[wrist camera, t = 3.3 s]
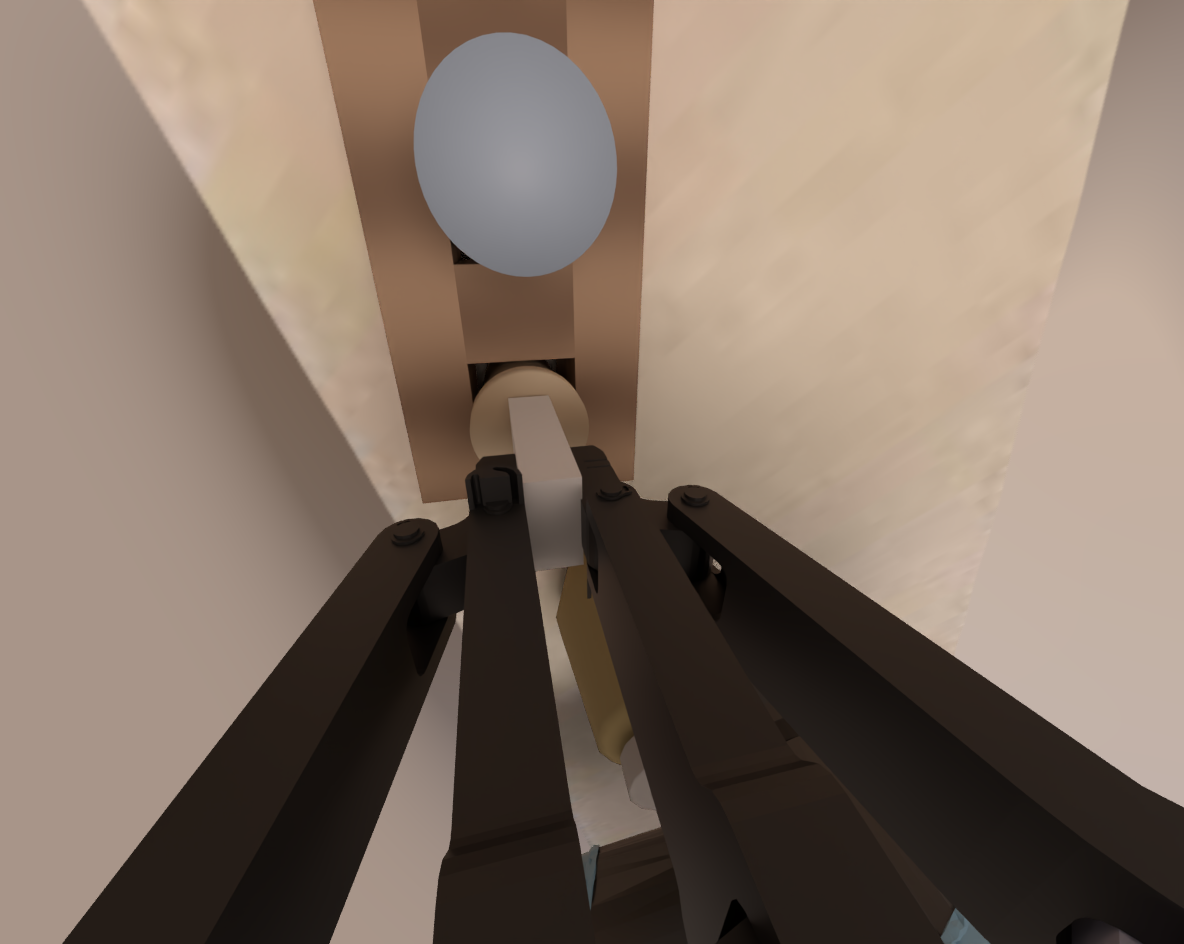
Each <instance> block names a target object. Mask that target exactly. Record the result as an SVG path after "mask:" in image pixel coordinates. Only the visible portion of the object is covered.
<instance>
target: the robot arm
mask: <svg viewBox="0 0 1184 944" xmlns="http://www.w3.org/2000/svg"><path fill="white" fill-rule="evenodd" d="M508 402H509V412H510V422H511V432H512V442H513V452H514V454H505V455H495V456H484V457H482V458H481V459H480V460H479V462H478V463H477V464H476V469H475V470H473V471H472V472H471V473H469V474H468V475H467V476H466V478H465V485H466V491H467V497H468V504H469V510H470V511H469V516H468V517H467V518H466V519H464V520H463V521H461V522H459V523H457V524H455V525H452V526H450V527H446V528H443V529H440V530H439V528H438V526H437V524H436V523H435V522H433V521H431V520H428V519H421V518H416V519H406V520H404V521H399V522H396V523H394V524H392V525H391V526H389V527H387V528H385V529H384V530H383V531H382V532H381V533H380V534H379V535H378V536H377V537H376V538H375V540H374V541H373V542H372V543H371V545H370V546H369V547H368V549H367V550H366V551H365V553H364V554H363V555H362V557H361V558H360V559H359V560H358V562H357V563H356V564H355V566H354V567H353V568H352V570H351V571H350V572H349V573H348V574H347V576H346V577H345V578H344V580H343V581H342V582H341V584H340V585H339V586H338V587H337V589H336V590H335V591H334V593H333V594H332V595H331V597H330V598H329V599H328V601H327V602H326V603H325V604H324V606H323V607H322V608H321V610H320V611H319V612H318V613H317V615H316V616H315V617H314V619H313V620H312V621H311V622H310V624H309V625H308V626H307V628H306V629H305V630H304V631H303V633H302V634H301V635H300V637H299V638H298V639H297V640H296V642H295V643H294V644H293V646H292V647H291V648H290V650H289V651H288V652H287V653H286V655H285V656H284V657H283V659H282V660H281V661H280V663H279V664H278V665H277V666H276V668H275V669H274V670H273V672H272V673H271V674H270V675H269V677H268V678H267V679H266V681H265V682H264V683H263V684H262V686H261V687H260V688H259V690H258V691H257V692H256V694H255V695H254V696H253V697H252V699H251V700H250V701H249V703H248V704H247V705H246V707H245V708H244V709H243V710H242V712H241V713H240V714H239V716H238V717H237V718H236V719H235V721H234V722H233V724H232V725H231V726H230V727H229V728H228V730H227V731H226V732H225V734H224V735H223V737H222V738H221V739H220V740H219V741H218V743H217V744H216V745H215V747H214V748H213V749H212V750H211V752H210V753H209V754H208V756H207V757H206V758H205V760H204V761H203V762H202V763H201V765H200V766H199V767H198V769H197V770H196V771H195V773H194V774H193V775H192V776H191V778H190V779H189V780H188V782H187V783H186V784H185V785H184V787H183V788H182V789H181V791H180V792H179V793H178V795H177V796H176V797H175V798H174V800H173V801H172V802H171V804H170V805H169V806H168V807H167V809H166V810H165V811H164V813H163V814H162V815H161V817H160V818H159V819H158V821H157V822H156V823H155V824H154V826H153V827H152V828H151V830H150V831H149V832H148V833H147V835H146V836H145V837H144V838H143V840H142V841H141V842H140V844H139V845H138V846H137V848H136V849H135V850H134V851H133V853H132V854H131V855H130V857H129V858H128V860H127V861H126V862H125V863H124V864H123V866H122V867H121V868H120V870H119V871H118V872H117V873H116V875H115V876H114V877H113V879H112V880H111V881H110V882H109V884H108V885H107V886H106V888H105V889H104V890H103V892H102V893H101V894H100V895H99V897H98V898H97V899H96V901H95V902H94V903H93V904H92V906H91V907H90V909H89V910H88V911H87V912H86V914H85V915H84V916H83V917H82V919H81V920H80V921H79V923H78V924H77V925H76V926H75V928H74V929H73V930H72V932H71V933H70V934H69V936H68V937H67V938H66V939H65V941H64V942H63V944H329V943H330V940H331V938H332V935H333V933H334V930H335V928H336V925H337V922H338V920H339V917H340V915H341V912H342V910H343V907H344V905H345V902H346V899H347V897H348V894H349V892H350V889H351V887H352V884H353V882H354V879H355V877H356V874H357V872H358V869H359V866H360V864H361V861H362V859H363V856H364V854H365V851H366V849H367V846H368V843H369V841H370V838H371V836H372V833H373V831H374V828H375V826H376V823H377V820H378V818H379V815H380V812H381V810H382V808H383V805H384V803H385V800H386V798H387V795H388V792H389V790H390V787H391V785H392V782H393V780H394V777H395V774H396V772H397V770H398V767H399V764H400V762H401V759H402V757H403V754H404V751H405V749H406V747H407V744H408V741H409V739H410V736H411V734H412V731H413V729H414V726H415V724H416V721H417V718H418V716H419V713H420V711H421V708H422V706H423V703H424V701H425V698H426V696H427V693H428V691H429V687H430V685H431V682H432V680H433V678H434V675H435V673H436V670H437V667H438V665H439V662H440V660H441V657H442V655H443V652H444V650H445V647H446V645H447V642H448V639H449V637H450V634H451V632H452V629H453V627H454V624H455V621H456V613H457V612H460V611H462V610H464V617H463V635H462V654H461V670H460V689H459V706H458V724H457V741H456V742H457V743H456V760H455V777H454V794H453V813H452V830H451V840H450V845H449V850H448V852H447V853H446V855H445V856H444V858H443V860H442V864H441V869H440V873H439V879H438V888H437V897H436V908H435V921H434V935H433V944H1184V807H1182V806H1180V805H1178V804H1176V803H1174V802H1172V801H1170V800H1168V799H1166V798H1164V797H1162V796H1160V795H1158V794H1157V793H1155V792H1152V791H1151V790H1148V789H1147V788H1145V787H1143V786H1141V785H1140V784H1138V783H1137V782H1135V781H1134V780H1132V779H1131V778H1130V777H1128V776H1127V775H1125V774H1124V773H1122V772H1121V771H1119V770H1118V769H1116V768H1115V767H1114V766H1112V765H1110V764H1109V763H1108V762H1106V761H1105V760H1103V759H1102V758H1101V757H1099V756H1098V755H1096V754H1095V753H1093V752H1092V751H1090V750H1089V749H1087V748H1086V747H1085V746H1083V745H1082V744H1080V743H1079V742H1077V741H1076V740H1074V739H1073V738H1072V737H1070V736H1069V735H1067V734H1066V733H1064V732H1063V731H1061V730H1060V729H1058V728H1057V727H1056V726H1054V725H1053V724H1051V723H1050V722H1048V721H1047V720H1045V719H1044V718H1042V717H1041V716H1040V715H1038V714H1037V713H1035V712H1034V711H1032V710H1031V709H1029V708H1028V707H1027V706H1025V705H1024V704H1022V703H1021V702H1019V701H1018V700H1016V699H1015V698H1014V697H1012V696H1010V695H1009V694H1008V693H1006V692H1005V691H1003V690H1002V689H1000V688H999V687H998V686H996V685H995V684H993V683H992V682H990V681H989V680H987V679H986V678H985V677H983V676H982V675H980V674H978V673H977V672H976V671H974V670H973V669H971V668H970V667H969V666H967V665H966V664H964V663H963V662H961V661H960V660H958V659H957V658H955V657H954V656H953V655H951V654H950V653H948V652H947V651H945V650H944V649H942V648H941V647H940V646H938V645H937V644H935V643H934V642H932V641H931V640H929V639H928V638H926V637H925V636H924V635H922V634H921V633H919V632H918V631H916V630H915V629H913V628H912V627H911V626H909V625H908V624H906V623H905V622H903V621H902V620H900V619H899V618H897V617H896V616H895V615H893V614H892V613H890V612H889V611H887V610H886V609H884V608H883V607H882V606H880V605H879V604H877V603H876V602H874V601H873V600H871V599H870V598H868V597H867V596H866V595H864V594H863V593H861V592H860V591H858V590H857V589H855V588H854V587H853V586H851V585H850V584H848V583H847V582H845V581H844V580H842V579H841V578H839V577H838V576H837V575H835V574H834V573H832V572H831V571H829V570H828V569H826V568H825V567H824V566H822V565H821V564H819V563H818V562H816V561H815V560H813V559H812V558H810V557H809V556H808V555H806V554H805V553H803V552H802V551H800V550H799V549H797V548H796V547H795V546H793V545H792V544H790V543H789V542H787V541H786V540H784V539H783V538H781V537H780V536H779V535H777V534H776V533H774V532H773V531H771V530H770V529H768V528H767V527H766V526H764V525H763V524H761V523H760V522H758V521H757V520H755V519H754V518H752V517H751V516H750V515H748V514H747V513H745V512H744V511H742V510H741V509H739V508H738V507H737V506H735V505H734V504H732V503H731V502H729V501H728V500H726V499H725V498H723V497H722V496H721V495H719V494H718V493H716V492H714V491H712V490H710V489H708V488H705V487H701V486H698V485H694V486H693V485H686V486H679V487H677V488H675V489H672V490H671V492H670V493H669V494H668V502H667V501H652V500H645V499H641V498H640V496H639V495H638V493H637V491H636V490H635V489H634V488H633V487H632V486H630V485H628V484H626V483H623V482H620V480H619V478H618V477H617V475H616V473H615V471H614V469H613V468H612V466H611V464H610V462H609V461H608V460H607V457H606V455H605V453H604V452H603V451H602V450H601V449H599V448H597V447H596V446H594V445H588V446H578V447H570V446H569V444H568V441H567V439H566V437H565V434H564V432H563V429H562V427H561V424H560V422H559V419H558V417H557V415H556V412H555V410H554V407H553V405H552V402H551V400H550V398H549V395H546V396H532V397H518V398H508ZM583 551H584V554H585V557H586V560H587V599H590V598H591V595H593V599H594V602H595V606H596V609H597V612H598V616H599V619H600V622H601V626H602V629H603V632H604V636H605V639H606V643H607V646H608V649H609V653H610V656H611V659H612V663H613V666H614V669H615V673H616V676H617V680H618V683H619V686H620V690H621V693H622V696H623V700H624V703H625V706H626V710H627V713H628V717H629V720H630V723H631V727H632V730H633V733H634V737H635V740H636V743H637V747H638V750H639V754H640V757H641V760H642V764H643V767H644V770H645V774H646V777H647V780H648V784H649V787H650V791H651V794H652V797H653V801H654V804H655V807H656V811H657V814H658V817H659V821H660V824H661V827H660V828H657V829H654V830H651V831H647V832H644V833H641V834H638V835H635V836H632V837H629V838H626V839H623V840H620V841H617V842H614V843H611V844H608V845H605V846H602V847H599V845H594V846H593V847H591V849H590V851H589V852H586V853H584V854H581V849H580V843H579V838H578V833H577V828H576V824H575V821H574V818H573V813H572V808H571V802H570V796H569V789H568V783H567V776H566V770H565V763H564V757H563V750H562V744H561V737H560V731H559V724H558V718H557V711H556V704H555V698H554V691H553V685H552V678H551V672H550V665H549V659H548V652H547V646H546V639H545V633H544V626H543V620H542V613H541V607H540V600H539V594H538V587H537V581H536V574H535V572H536V571H543V570H550V569H557V568H564V567H570V566H577V565H584V558H583ZM713 558H714V559H715V560H716V561H717V562H718V563H719V564H720V565H721V567H722V569H721V571H720V570H718V569H717V568H716V567H715V566H714V565H712V564H713Z"/></svg>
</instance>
